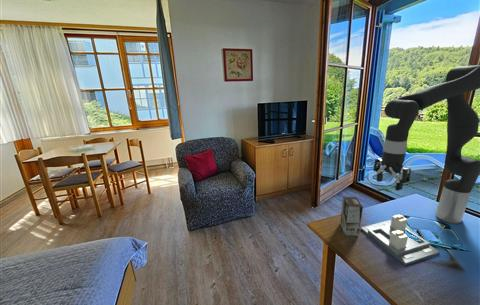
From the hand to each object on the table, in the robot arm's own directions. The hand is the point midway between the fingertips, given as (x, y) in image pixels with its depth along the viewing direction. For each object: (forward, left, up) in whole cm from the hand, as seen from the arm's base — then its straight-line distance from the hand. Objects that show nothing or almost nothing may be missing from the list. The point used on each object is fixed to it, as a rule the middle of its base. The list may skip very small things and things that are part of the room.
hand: (388, 185), depth 87 cm
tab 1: (-9, +1, -25) cm, 27 cm away
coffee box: (+10, -8, -27) cm, 30 cm away
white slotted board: (-4, +5, -27) cm, 28 cm away
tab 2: (+1, +9, -25) cm, 27 cm away
